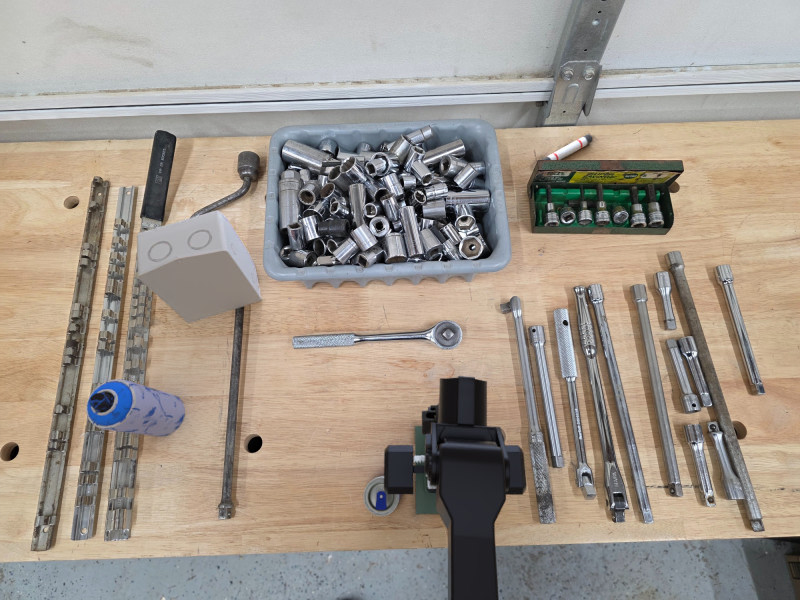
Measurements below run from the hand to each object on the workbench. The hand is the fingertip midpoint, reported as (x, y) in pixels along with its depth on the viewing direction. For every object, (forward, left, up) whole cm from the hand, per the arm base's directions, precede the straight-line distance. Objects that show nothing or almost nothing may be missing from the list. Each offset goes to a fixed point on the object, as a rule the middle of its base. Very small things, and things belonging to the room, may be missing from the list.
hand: (448, 469), depth 69 cm
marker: (+65, -28, -10) cm, 72 cm away
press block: (0, 0, -10) cm, 10 cm away
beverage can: (-4, +10, -10) cm, 15 cm away
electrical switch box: (+36, +44, -10) cm, 58 cm away
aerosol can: (+9, +50, -10) cm, 52 cm away
